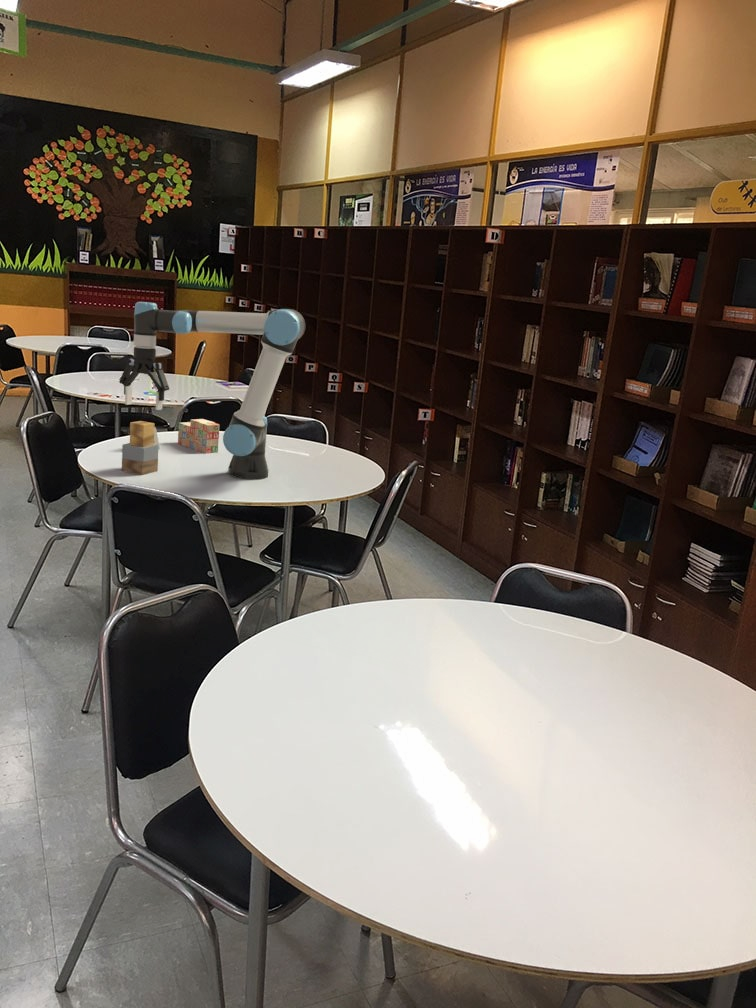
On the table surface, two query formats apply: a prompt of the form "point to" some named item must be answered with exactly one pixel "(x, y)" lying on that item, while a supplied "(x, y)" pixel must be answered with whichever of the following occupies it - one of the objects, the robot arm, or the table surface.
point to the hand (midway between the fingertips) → (143, 407)
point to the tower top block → (139, 452)
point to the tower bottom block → (139, 466)
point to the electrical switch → (156, 438)
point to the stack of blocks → (199, 435)
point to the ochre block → (142, 433)
